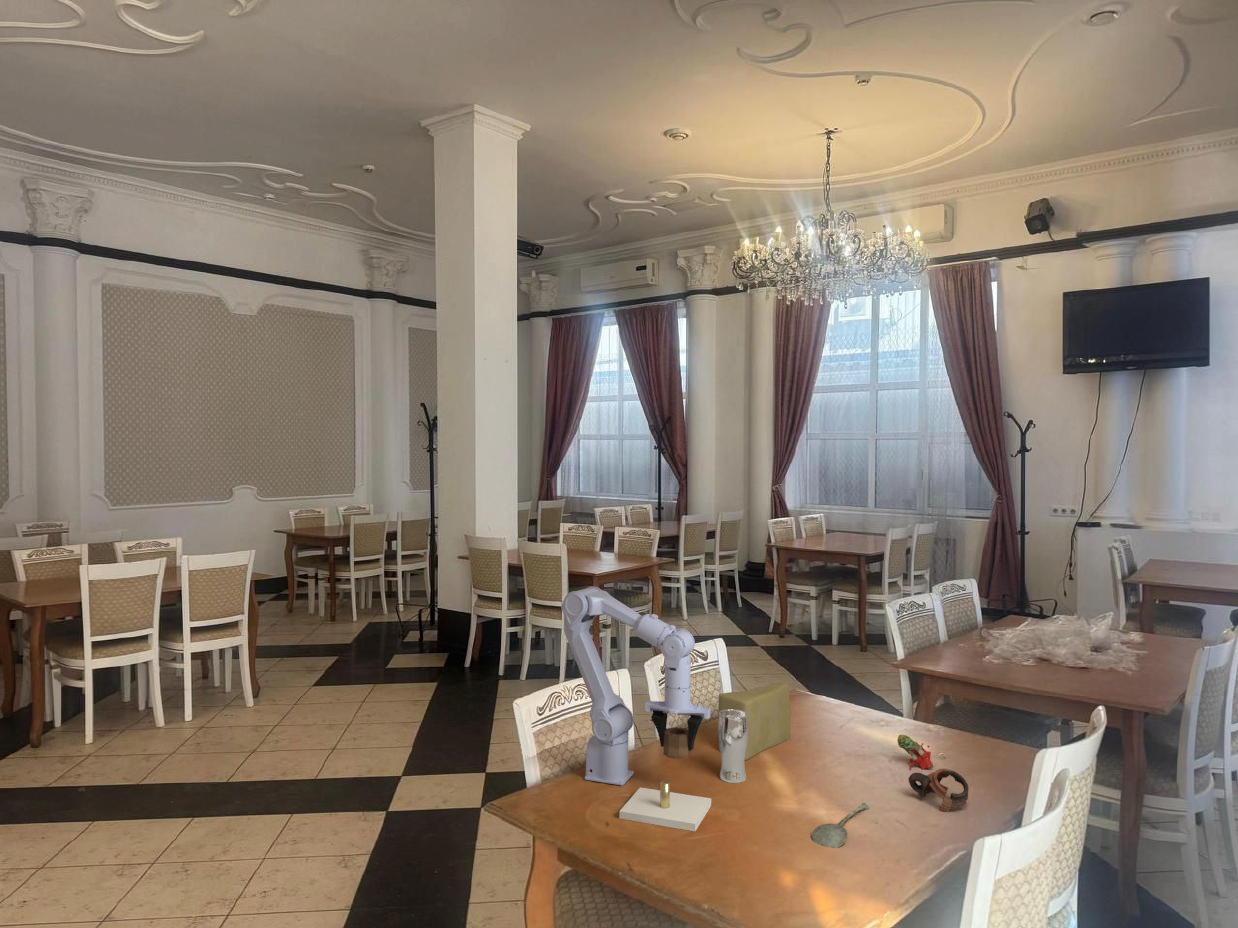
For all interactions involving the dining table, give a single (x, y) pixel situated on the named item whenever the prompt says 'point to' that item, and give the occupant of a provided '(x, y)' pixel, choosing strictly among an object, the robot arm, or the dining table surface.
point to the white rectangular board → (679, 815)
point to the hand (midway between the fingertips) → (677, 746)
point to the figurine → (915, 752)
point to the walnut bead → (676, 743)
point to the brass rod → (664, 794)
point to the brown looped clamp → (940, 787)
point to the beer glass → (733, 744)
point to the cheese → (762, 715)
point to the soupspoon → (834, 831)
